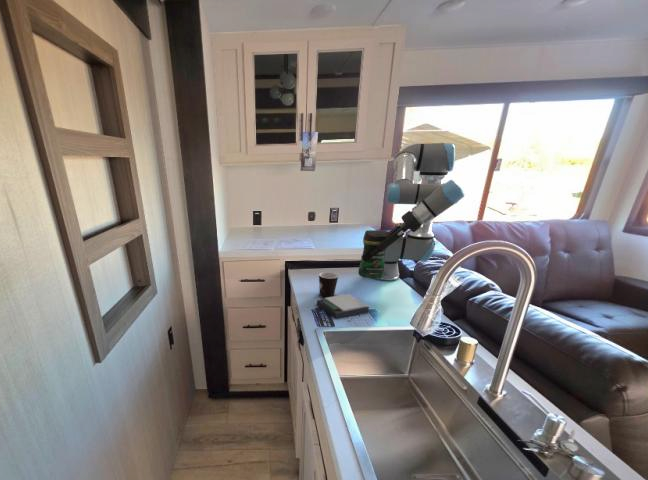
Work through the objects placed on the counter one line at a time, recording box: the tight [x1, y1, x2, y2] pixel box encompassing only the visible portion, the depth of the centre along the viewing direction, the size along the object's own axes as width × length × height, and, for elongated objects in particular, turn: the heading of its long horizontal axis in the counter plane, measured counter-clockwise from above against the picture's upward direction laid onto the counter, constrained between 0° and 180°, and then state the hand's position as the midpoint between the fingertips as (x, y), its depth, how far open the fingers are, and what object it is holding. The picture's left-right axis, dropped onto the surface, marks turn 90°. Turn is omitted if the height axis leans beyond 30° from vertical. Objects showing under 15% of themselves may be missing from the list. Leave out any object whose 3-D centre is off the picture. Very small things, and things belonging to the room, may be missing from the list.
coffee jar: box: [357, 229, 390, 279], centre depth 124 cm, size 10×8×19 cm
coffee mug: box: [318, 271, 339, 299], centre depth 146 cm, size 12×9×10 cm
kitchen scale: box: [316, 293, 370, 320], centre depth 133 cm, size 16×14×3 cm
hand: (364, 256), depth 126 cm, fingers closed on coffee jar, 8 cm apart
